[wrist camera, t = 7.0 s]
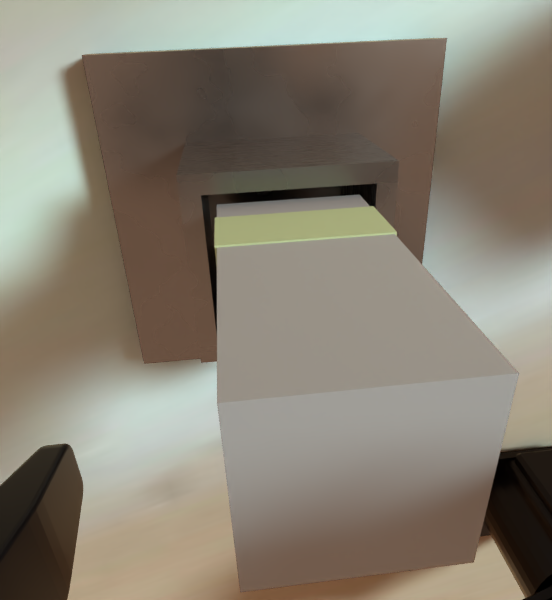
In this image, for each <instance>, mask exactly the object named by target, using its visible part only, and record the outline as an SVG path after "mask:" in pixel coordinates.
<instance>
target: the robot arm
mask: <svg viewBox="0 0 552 600" xmlns="http://www.w3.org/2000/svg"><path fill="white" fill-rule="evenodd" d="M82 498H83V481H82V477H81V474H80V471H79V468H78V465H77V462H76V458H75V455H74V452H73V450H72V448H71V446H70V445H68V444H56V445H47V446H43V447H41V448H40V449H38V450H37V451H36V452H35V453H34V454H33V455H32V456H31V457H30V458H29V459H28V460H27V461H26V462H24V463H23V464H22V465H21V466H20V467H19V468H18V469H17V470H16V471H15V472H14V473H13V474H12V475H11V476H10V477H9V478H8V479H7V480H6V481H4V482H3V483H2V484H1V485H0V600H67V598H68V593H69V588H70V582H71V576H72V569H73V562H74V555H75V548H76V540H77V533H78V526H79V519H80V512H81V505H82ZM486 535H491V536H492V538H493V540H494V541H495V543H496V545H497V547H498V549H499V550H500V552H501V554H502V556H503V558H504V560H505V561H506V563H507V565H508V567H509V569H510V570H511V572H512V574H513V576H514V578H515V580H516V581H517V583H518V585H519V587H520V589H521V591H522V592H523V594H524V596H525V599H523V600H552V447H551V448H542V449H533V450H524V451H515V452H506V453H500V455H499V459H498V463H497V467H496V472H495V476H494V480H493V484H492V488H491V493H490V497H489V501H488V505H487V509H486V514H485V518H484V522H483V526H482V530H481V534H480V536H486Z"/></svg>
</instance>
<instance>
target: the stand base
mask: <svg viewBox="0 0 552 600" xmlns="http://www.w3.org/2000/svg"><path fill="white" fill-rule="evenodd" d="M446 41H447V38H424V39H403V40H381V41H360V42H338V43H317V44H295V45H273V46H252V47H230V48H209V49H187V50H166V51H144V52H122V53H101V54H86V55H82V58H83V63H84V68H85V72H86V77H87V82H88V87H89V92H90V97H91V102H92V107H93V112H94V117H95V122H96V127H97V132H98V137H99V142H100V147H101V152H102V157H103V162H104V167H105V172H106V177H107V182H108V187H109V192H110V197H111V202H112V206H113V211H114V216H115V221H116V226H117V231H118V236H119V241H120V246H121V251H122V256H123V261H124V266H125V271H126V276H127V281H128V286H129V291H130V296H131V301H132V306H133V311H134V316H135V321H136V326H137V331H138V335H139V340H140V345H141V350H142V355H143V360H144V364H145V363H156V362H166V361H177V360H188V359H199V358H201V363H203V362H214V361H217V266H216V256H215V247H214V231H215V218H216V217H217V204H232V203H246V202H260V201H275V200H289V199H303V198H318V197H332V196H346V195H360V196H361V197H362V198H363V199H364V200H365V201H366V202H367V204H368V205H369V206H374V207H375V208H376V210H377V211H378V212H379V213H380V214H381V215H382V216H383V217H384V218H385V219H386V220H387V222H388V223H389V224H390V225H391V226H392V227H393V228H394V229H395V230H396V231H397V237H398V238H399V239H400V240H401V242H402V243H403V244H404V245H405V246H406V247H407V248H408V249H409V251H410V252H411V253H412V254H413V255H414V256H415V257H416V258H417V259H418V261H419V262H420V263H421V264H422V259H423V250H424V241H425V232H426V223H427V214H428V204H429V195H430V186H431V177H432V168H433V159H434V150H435V141H436V132H437V123H438V114H439V105H440V95H441V86H442V77H443V68H444V59H445V50H446Z"/></svg>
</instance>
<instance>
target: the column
mask: <svg viewBox="0 0 552 600" xmlns="http://www.w3.org/2000/svg"><path fill="white" fill-rule="evenodd" d="M214 247H215V256H216V266H217V405H218V413H219V422H220V430H221V438H222V446H223V455H224V463H225V471H226V479H227V487H228V496H229V504H230V512H231V520H232V528H233V537H234V545H235V553H236V561H237V569H238V578H239V586H240V592H247V591H254V590H262V589H270V588H278V587H285V586H293V585H301V584H309V583H317V582H324V581H332V580H340V579H348V578H356V577H363V576H371V575H379V574H387V573H395V572H402V571H410V570H418V569H426V568H434V567H441V566H449V565H457V564H465V563H472V562H474V560H475V555H476V551H477V547H478V543H479V539H480V534H481V530H482V526H483V522H484V518H485V514H486V509H487V505H488V501H489V497H490V493H491V488H492V484H493V480H494V476H495V472H496V467H497V463H498V459H499V455H500V451H501V447H502V442H503V438H504V434H505V430H506V426H507V421H508V417H509V413H510V409H511V405H512V401H513V396H514V392H515V388H516V384H517V380H518V375H519V373H518V371H517V370H516V369H515V368H514V367H513V366H512V365H511V364H510V362H509V361H508V360H507V359H506V358H505V357H504V356H503V355H502V353H501V352H500V351H499V350H498V349H497V348H496V347H495V346H494V345H493V343H492V342H491V341H490V340H489V339H488V338H487V337H486V336H485V334H484V333H483V332H482V331H481V330H480V329H479V328H478V327H477V326H476V324H475V323H474V322H473V321H472V320H471V319H470V318H469V317H468V315H467V314H466V313H465V312H464V311H463V310H462V309H461V308H460V306H459V305H458V304H457V303H456V302H455V301H454V300H453V299H452V298H451V296H450V295H449V294H448V293H447V292H446V291H445V290H444V289H443V287H442V286H441V285H440V284H439V283H438V282H437V281H436V280H435V279H434V277H433V276H432V275H431V274H430V273H429V272H428V271H427V270H426V268H425V267H424V266H423V265H422V264H421V263H420V262H419V261H418V259H417V258H416V257H415V256H414V255H413V254H412V253H411V252H410V251H409V249H408V248H407V247H406V246H405V245H404V244H403V243H402V242H401V240H400V239H399V238H398V237H397V231H396V230H395V229H394V228H393V227H392V226H391V225H390V224H389V223H388V222H387V220H386V219H385V218H384V217H383V216H382V215H381V214H380V213H379V212H378V211H377V210H376V208H375V207H374V206H369V205H368V204H367V202H366V201H365V200H364V199H363V198H362V197H361V196H360V195H346V196H332V197H318V198H303V199H289V200H275V201H260V202H246V203H232V204H217V217H216V218H215V231H214Z"/></svg>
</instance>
